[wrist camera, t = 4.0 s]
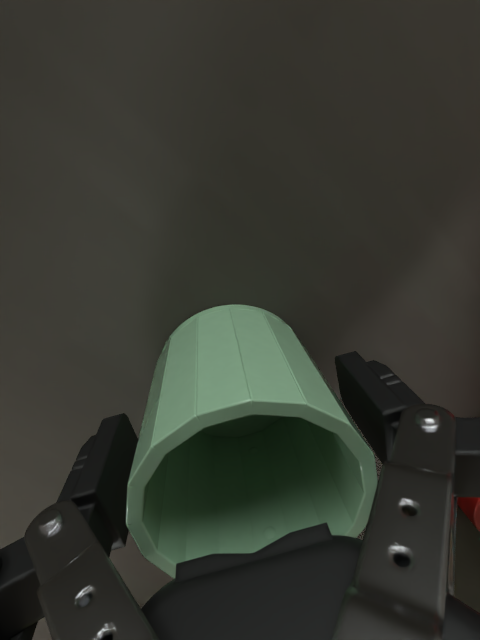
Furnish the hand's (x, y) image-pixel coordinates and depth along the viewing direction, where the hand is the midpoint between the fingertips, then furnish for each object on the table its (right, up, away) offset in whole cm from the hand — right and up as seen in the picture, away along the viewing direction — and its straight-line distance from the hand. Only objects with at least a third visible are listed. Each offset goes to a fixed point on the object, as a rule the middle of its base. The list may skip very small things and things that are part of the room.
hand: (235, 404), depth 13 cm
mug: (0, 0, +2) cm, 2 cm away
